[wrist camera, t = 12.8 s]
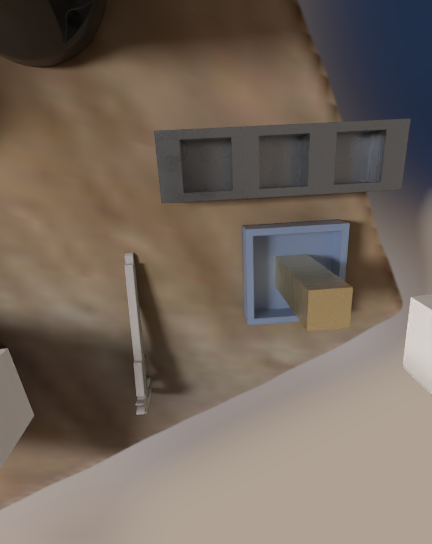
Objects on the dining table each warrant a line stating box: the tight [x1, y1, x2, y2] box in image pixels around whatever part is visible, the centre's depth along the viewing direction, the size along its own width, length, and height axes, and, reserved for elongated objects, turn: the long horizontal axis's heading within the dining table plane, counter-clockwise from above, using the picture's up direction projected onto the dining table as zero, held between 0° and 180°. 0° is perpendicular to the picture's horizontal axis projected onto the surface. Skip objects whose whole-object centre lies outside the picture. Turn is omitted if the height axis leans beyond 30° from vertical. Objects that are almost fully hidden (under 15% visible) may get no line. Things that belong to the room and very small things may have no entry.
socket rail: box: [154, 119, 411, 203], centre depth 34 cm, size 26×7×4 cm, turn 93°
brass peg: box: [275, 254, 353, 331], centre depth 34 cm, size 4×4×12 cm
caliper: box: [125, 253, 152, 415], centre depth 38 cm, size 20×1×6 cm, turn 3°
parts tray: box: [242, 220, 350, 325], centre depth 38 cm, size 12×12×3 cm
